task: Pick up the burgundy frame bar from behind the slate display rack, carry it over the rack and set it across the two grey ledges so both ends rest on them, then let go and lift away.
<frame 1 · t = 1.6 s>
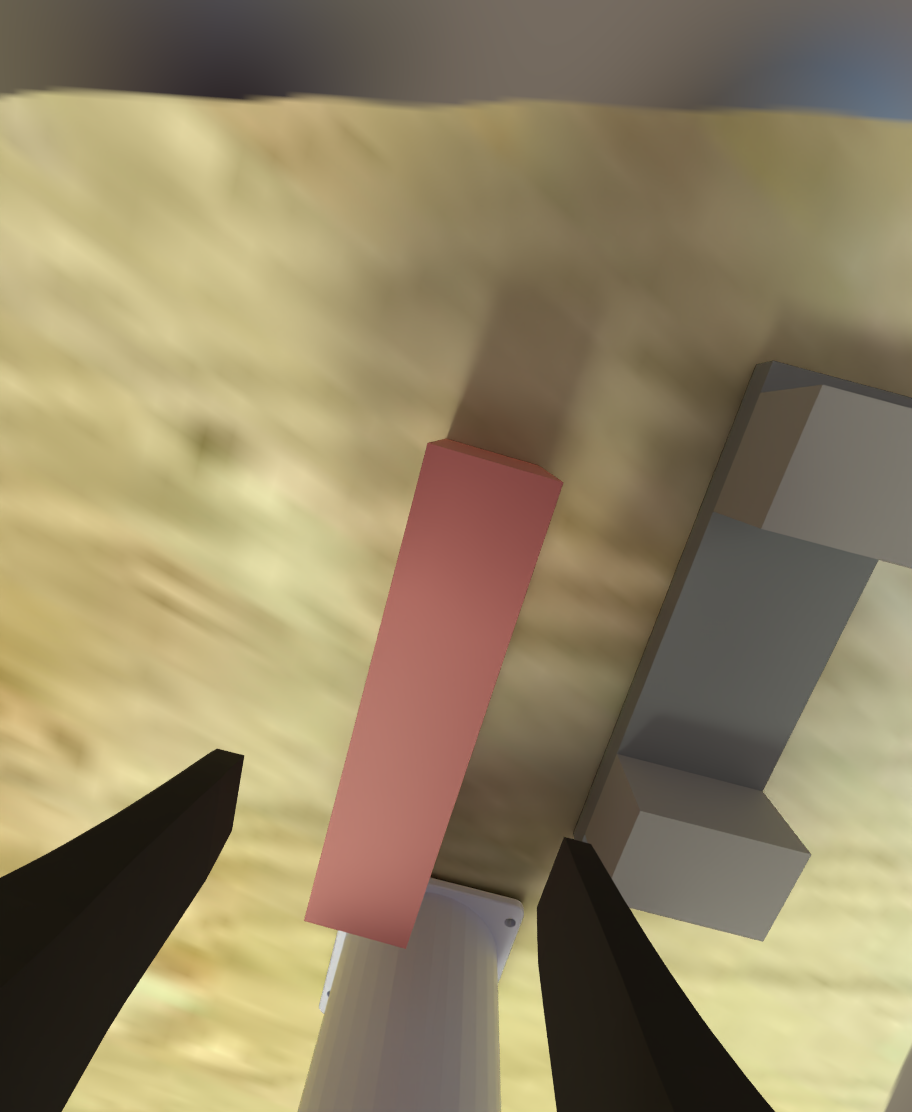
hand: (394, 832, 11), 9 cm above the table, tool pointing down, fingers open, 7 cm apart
frame bar: (435, 644, 20), on the table
display rack: (726, 649, 19), on the table
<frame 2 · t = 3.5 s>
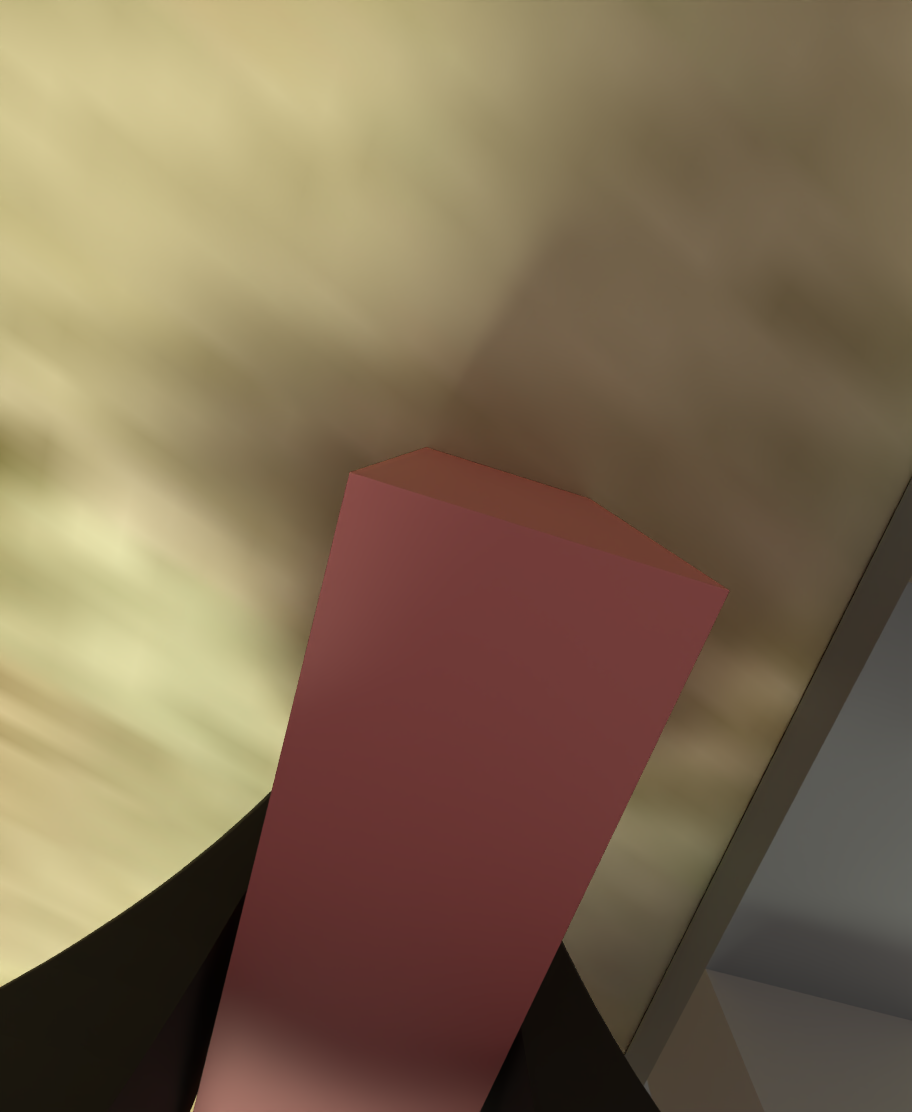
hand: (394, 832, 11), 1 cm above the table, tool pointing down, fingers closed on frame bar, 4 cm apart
frame bar: (404, 785, 12), on the table, touching gripper
display rack: (891, 799, 11), on the table
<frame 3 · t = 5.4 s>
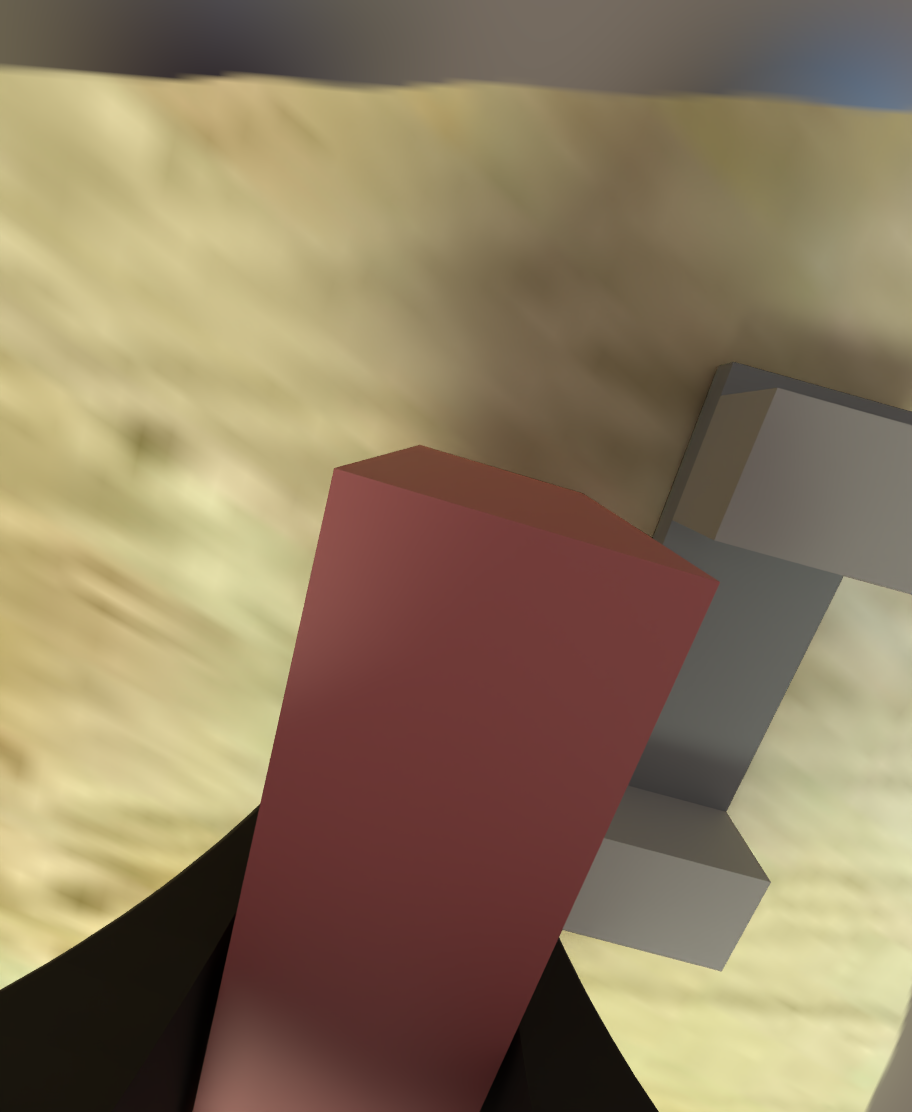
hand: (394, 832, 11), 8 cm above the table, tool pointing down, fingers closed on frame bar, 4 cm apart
frame bar: (404, 784, 12), point 7 cm above the table, touching gripper
display rack: (689, 663, 18), on the table
when the fingers open (7 cm above the table, at t = 7.2 s): frame bar drops 1 cm, resting on display rack.
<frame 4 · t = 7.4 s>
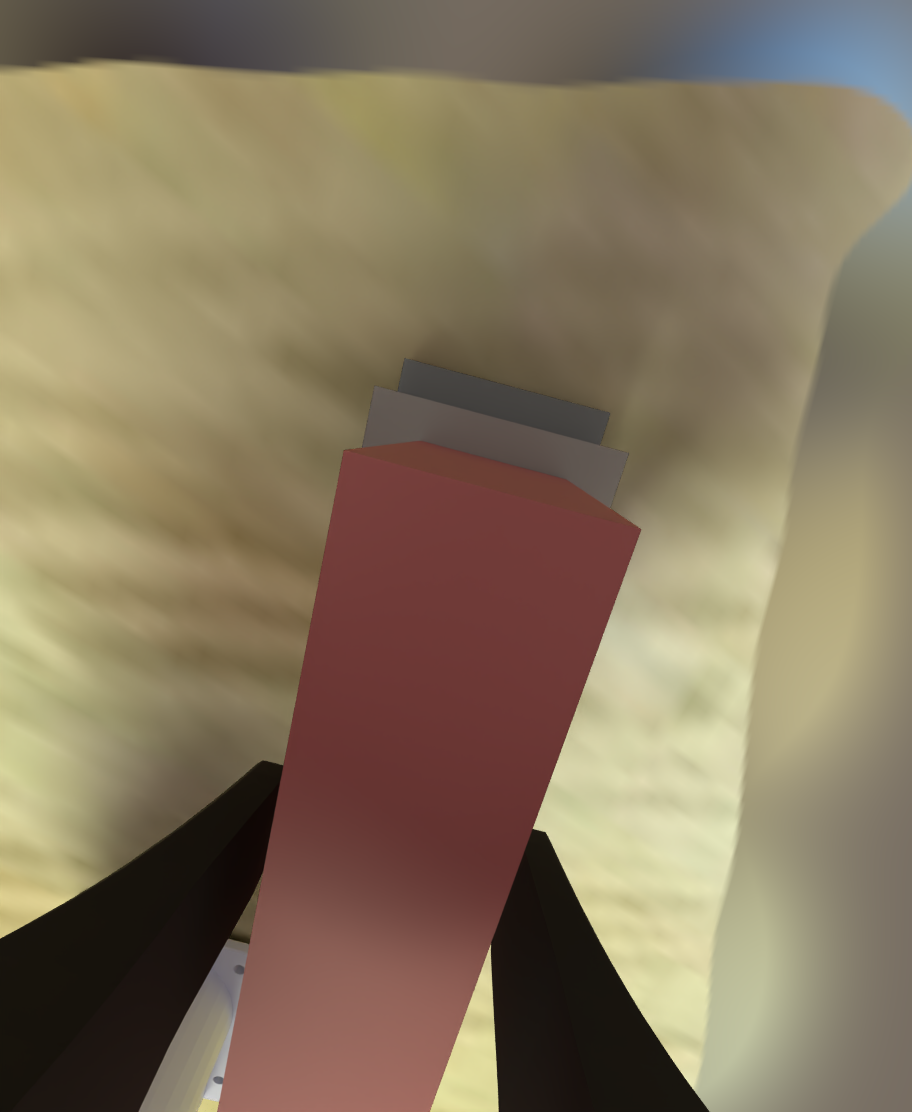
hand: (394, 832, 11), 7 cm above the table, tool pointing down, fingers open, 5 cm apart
frame bar: (415, 747, 13), point 4 cm above the table, touching display rack
display rack: (428, 677, 17), on the table
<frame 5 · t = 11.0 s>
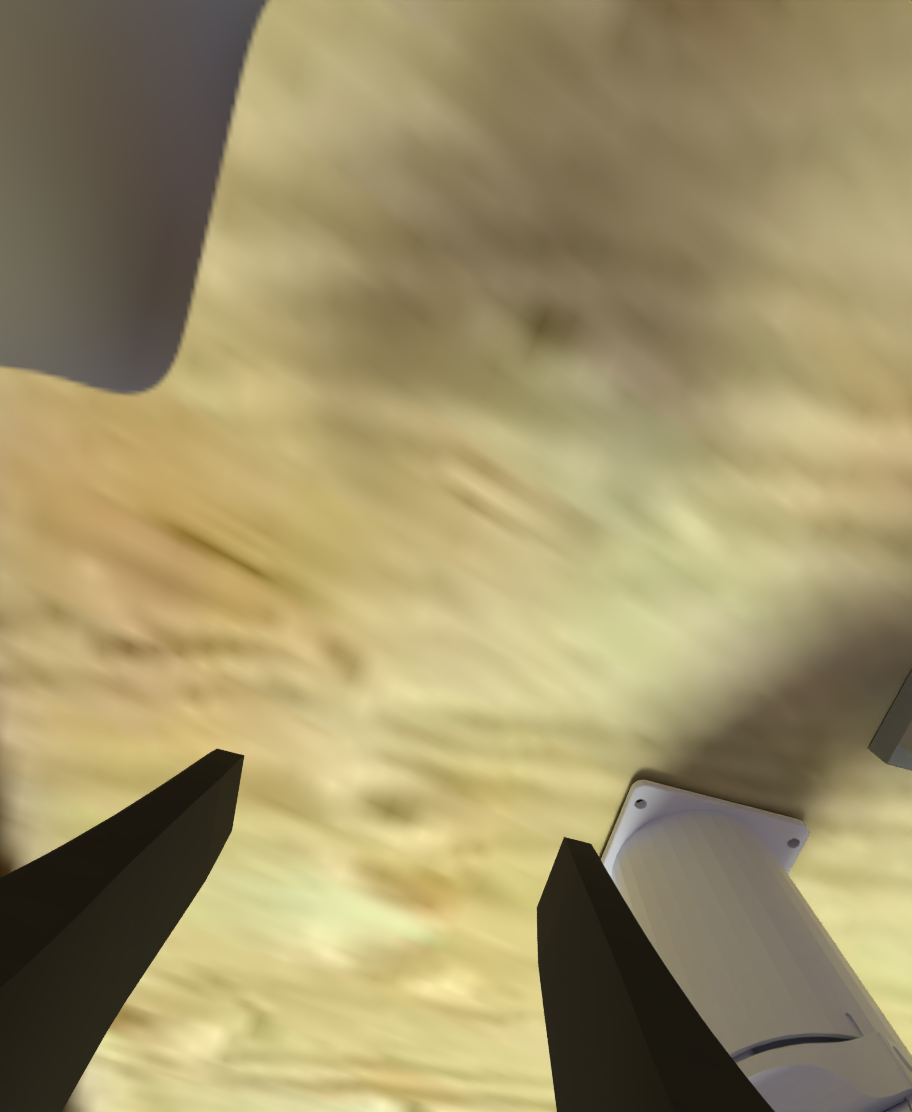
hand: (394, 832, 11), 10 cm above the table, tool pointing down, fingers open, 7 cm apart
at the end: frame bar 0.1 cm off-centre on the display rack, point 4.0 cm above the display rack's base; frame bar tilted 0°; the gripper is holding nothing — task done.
